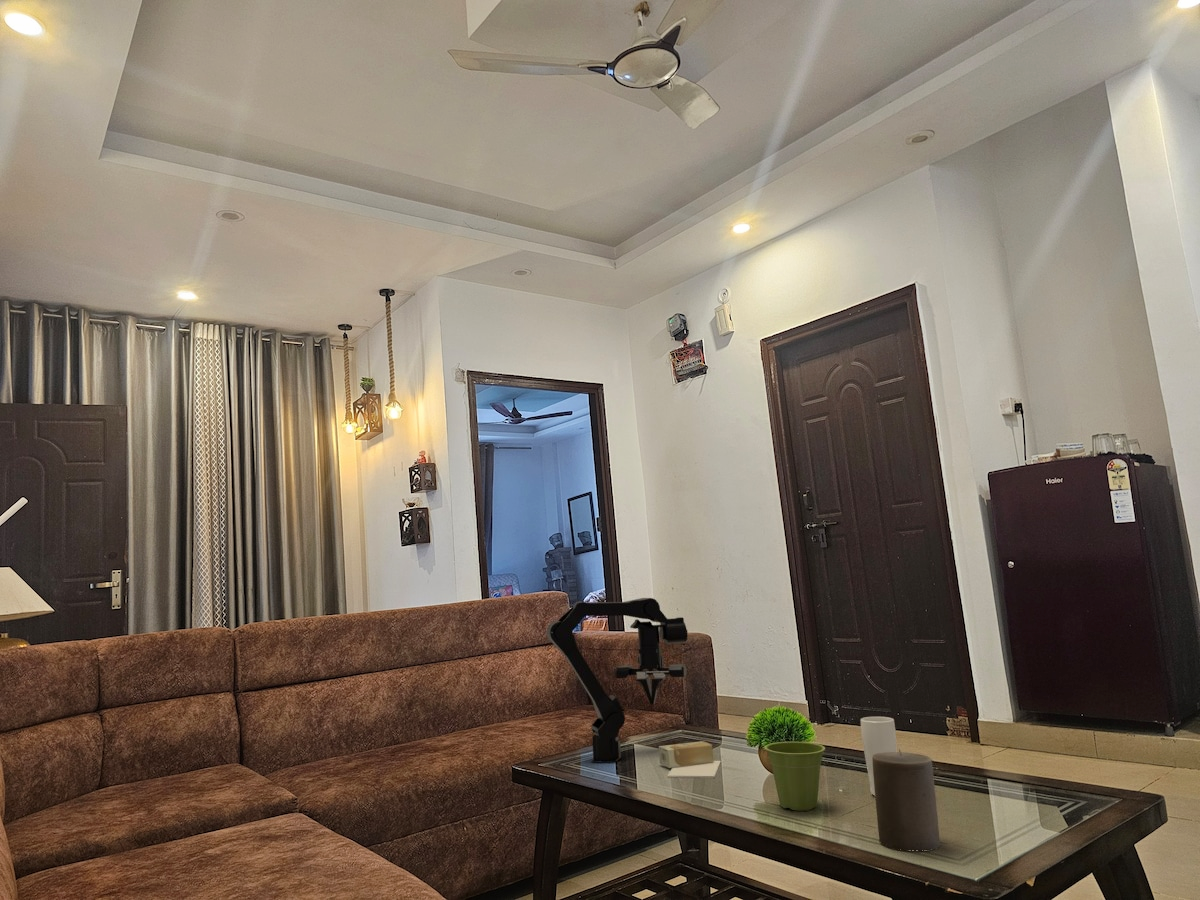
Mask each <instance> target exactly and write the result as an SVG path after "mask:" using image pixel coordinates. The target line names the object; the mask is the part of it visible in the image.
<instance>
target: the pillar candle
mask: <svg viewBox="0 0 1200 900" xmlns="http://www.w3.org/2000/svg"><path fill="white" fill-rule="evenodd" d="M872 761H873V776H874V788H875V796H874V798H875V809H876V823H877V830H878V841H879V843H880V842H881V843H880V844H881V845H883V846H885V847H887V848H889V847H890V849H892V848H893V849H892V850H895V849H899V850H900V849H901V850H911V851H912V850H914V851H916V850H918V851H922V850H923V851H924V850H931V849H935V850H937V849H938V847H939V848H940V846H941V838H940V830H939V829H940V828H939V819H938V810H937V809H938V807H937V797H936V788H935V779H934V769H933V758H932V757H930V756H928V755H924V754H921V753H914V752H907V751H901V749H900V748H898V751H897V752H883V753H877V754H874V755H873V757H872ZM936 848H937V849H936ZM899 850H898V851H899ZM931 851H932V850H931Z"/></svg>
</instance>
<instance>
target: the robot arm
mask: <svg viewBox="0 0 1200 900" xmlns="http://www.w3.org/2000/svg"><path fill="white" fill-rule="evenodd" d="M598 616H600V617H601V616H602V617H603V616H604V617H605V616H606V617H607V616H608V617H609V616H610V617H611V616H613V617H614V616H615V617H616V616H619V617H620V616H626V617H630V618H631V617H632V618H634V619H635V618H636V619H635V620H634V622H633V623H632V624H631V625H630V629H636V630H637V634H638V637H637V638H638V656H637V664H638V665H639V667H634V666H633V665H631V664H630V665H619V666H617V667H616V668H615V670H614V677H615V679H627V678H628V677H629V676H636V678H635V681H636V682H639V684H640V685H641V686H642V688H643V691H644V693H645V694H646V698H647V699H648V702H649V704H650V705H652V706H653V705H654V706H655V703H656V698H657V694H658V691H659V688H660V684H661V682H663V681H665V679H666V678H667V675H669V676H671V677H672V678H684V677H686V675H687V674H688V673H687V666H686V665H685V664H683V663H682V664H681V663H679V664H678V663H677V664H675V663H673V664H670V665H669V666H668V667H664V656H663V655H662V652H661V645H660V644H661V642H660V641H663V642H664V644H665V645H667V644H668V645H669V644H682V643H684V644H685V643H687V641H688V636H689V635H688V629H687V626H686V623H685V620H684V617H679V616H678V617H675V618H674V617H673V618H667V617H666V615H665V614H664V613H663V611H662V610H661V607H660V604H659V602H658V601H657V599H655V598H654V597H653V598H651V597H641V598H637V599H632V600H631V599H630V600H626V601H607V602H606V601H602V602H601V601H599V602H597V601H596V602H595V601H592V602H591V601H590V602H586V601H580V600H579V601H576V602H574V604H573V606H571V607H570V609H569V610H567V611H566V612H565V613H564V614H563V615H561V617H560V618H559V619H558V620H555V621H552V622H550V624H548V626H547V628H546V630H545V631H546V632H545V633H546V637H547V639H548V640H549V641H550V642H551V644H552V645H554V647H555V648H557V650H558V651H559V652H560V653H561V654H562V655H563V656H564V657H565V659H566V660H567V662H568V663H569V665H570V667H571V669H572V670H573V672H574V674H575V675H576V677H577V678H578V679H579V682H580V683H581V684H582V686H583V688H584V689H585V691H586V692H587V694H588V696H589V697H590V699H591V701H592V704H593V707H594V710H595V713H596V716H597V718H596V719H595V720H594V721H593V723H592V724H591V725H590V728H591V731H592V734H594V735H592V738H591V739H592V740H591V741H592V759H591V762H592V761H601V762H600V763H616V762H617V761H619V759H621V757H622V750H621V740H620V739H619V733H620V729H621V728H623V726H624V725H625V721H626V715H625V713H624V712H625V708H623V707H622V706H621V704H620V702H619V699H618V697H616V695H615V696H614V695H612V694H610V695H609V696H608V695H607V694H606V692H605V690H604V688H603V687H602V686H601V684H600V681H598V679H597V677H596V675H595V674H594V672H593V671H592V669H591V668H590V666H589V665H588V663H587V661H586V660H585V658H584V656H583V655H582V653H581V651H580V650H579V647H578V645H577V641H576V637H575V634H574V633H573V631H574V630H575V629H576V628H577V627H578V626H579V624H580V623H581V622H582V620H584V618H585V617H598ZM640 619H642V620H649V621H641V620H640ZM652 622H653V623H659V624H652ZM649 675H652V676H653V677H652V678H651V676H649Z"/></svg>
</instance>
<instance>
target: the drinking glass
mask: <svg viewBox="0 0 1200 900" xmlns="http://www.w3.org/2000/svg"><path fill="white" fill-rule="evenodd" d="M896 731H897V730H896V725H895V719H894V718H892V717H887V716H866V717H862V718H860V733H861V741H862V747H863V753H864V757H865V765H866V768H867V775H868V781H869V788H870V794H871V795H872V794H873V795H875V788H874V776H873V761H872V757H873V755H874V754H877V753H883V752H898V747H897V732H896ZM873 795H872V796H873Z"/></svg>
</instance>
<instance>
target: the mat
mask: <svg viewBox="0 0 1200 900" xmlns="http://www.w3.org/2000/svg"><path fill="white" fill-rule="evenodd" d="M713 761H714V762H713V763H705V764H697V765H690V766H682V767H674V768H670V769H671V770H670V771H669V772H668V774H667V777H666V778H688V779H689V778H693V779H694V778H697V779H700V778H702V779H705V778H706V779H708V778H709V779H712V778H713V779H715V777H716V775H717V772H718V770H719V768H720V766H721V763H722V761H721V760H713Z"/></svg>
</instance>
